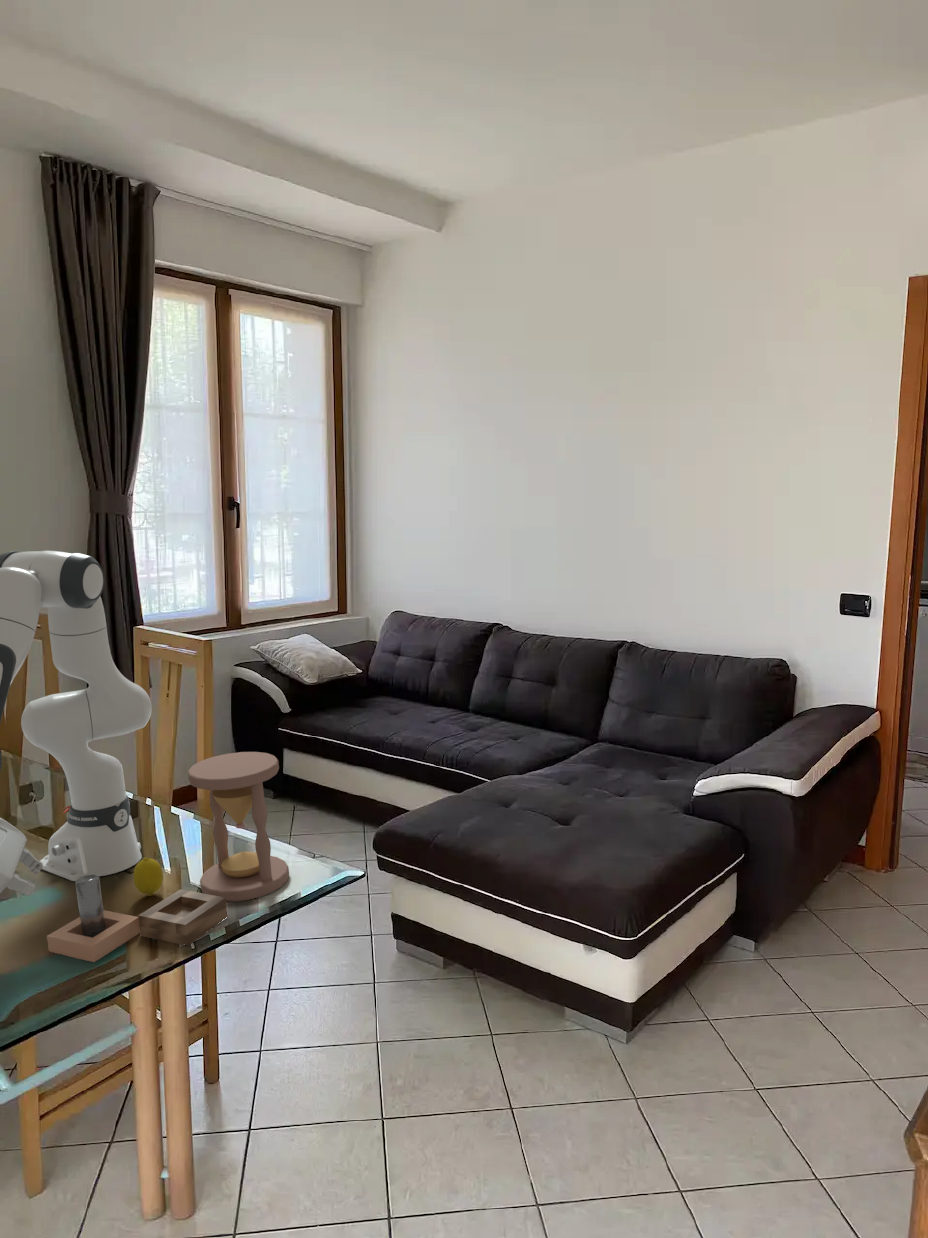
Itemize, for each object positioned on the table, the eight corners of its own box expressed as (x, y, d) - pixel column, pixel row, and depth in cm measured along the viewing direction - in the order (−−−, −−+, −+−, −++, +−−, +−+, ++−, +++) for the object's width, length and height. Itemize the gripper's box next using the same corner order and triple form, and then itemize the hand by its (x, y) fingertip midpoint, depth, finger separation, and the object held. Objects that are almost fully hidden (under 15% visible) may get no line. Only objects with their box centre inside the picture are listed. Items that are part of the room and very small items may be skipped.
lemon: (164, 898, 184) (160, 860, 183) (135, 904, 183) (130, 865, 181) (165, 887, 189) (160, 850, 188) (136, 892, 188) (132, 854, 187)
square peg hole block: (140, 936, 170) (138, 915, 169) (182, 908, 179) (180, 889, 179) (187, 946, 165) (185, 925, 164) (227, 917, 175) (225, 897, 174)
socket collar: (48, 951, 166) (46, 936, 165) (96, 923, 176) (94, 908, 175) (94, 962, 161) (91, 946, 161) (140, 932, 171) (138, 917, 170)
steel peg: (78, 945, 167) (70, 883, 166) (95, 935, 171) (87, 873, 169) (95, 949, 166) (86, 886, 164) (112, 938, 169) (104, 876, 167)
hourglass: (305, 881, 189) (294, 762, 184) (226, 911, 177) (213, 786, 173) (262, 857, 202) (251, 746, 198) (186, 884, 190) (172, 767, 186)
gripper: (-33, 844, 150) (41, 890, 154) (-10, 803, 169) (55, 845, 174) (-59, 875, 149) (16, 920, 154) (-34, 831, 169) (32, 871, 173)
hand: (37, 880), depth 164 cm, fingers open, 8 cm apart
